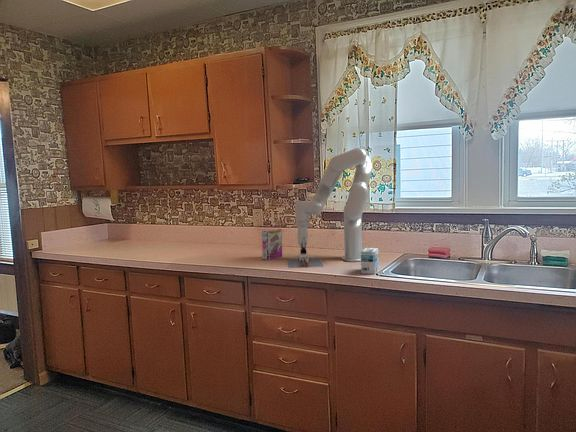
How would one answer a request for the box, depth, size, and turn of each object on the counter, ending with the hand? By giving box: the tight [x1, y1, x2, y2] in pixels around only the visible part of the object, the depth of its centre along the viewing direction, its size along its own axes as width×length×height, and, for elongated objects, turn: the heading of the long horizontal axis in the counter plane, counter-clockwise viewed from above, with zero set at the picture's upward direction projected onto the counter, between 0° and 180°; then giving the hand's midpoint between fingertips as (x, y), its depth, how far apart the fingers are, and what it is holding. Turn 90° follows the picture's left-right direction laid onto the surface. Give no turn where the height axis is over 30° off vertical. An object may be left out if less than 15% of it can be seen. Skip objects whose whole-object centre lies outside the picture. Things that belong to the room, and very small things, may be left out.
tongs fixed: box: [304, 257, 310, 268], centre depth 238 cm, size 19×3×2 cm, turn 2°
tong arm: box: [301, 257, 307, 268], centre depth 236 cm, size 16×1×2 cm, turn 1°
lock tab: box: [298, 253, 310, 261], centre depth 245 cm, size 5×5×3 cm
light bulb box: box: [360, 247, 380, 275], centre depth 217 cm, size 11×7×11 cm, turn 159°
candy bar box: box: [261, 228, 283, 261], centre depth 255 cm, size 11×5×16 cm, turn 132°
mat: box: [286, 257, 325, 269], centre depth 240 cm, size 18×23×1 cm
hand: (303, 256), depth 249 cm, fingers closed
